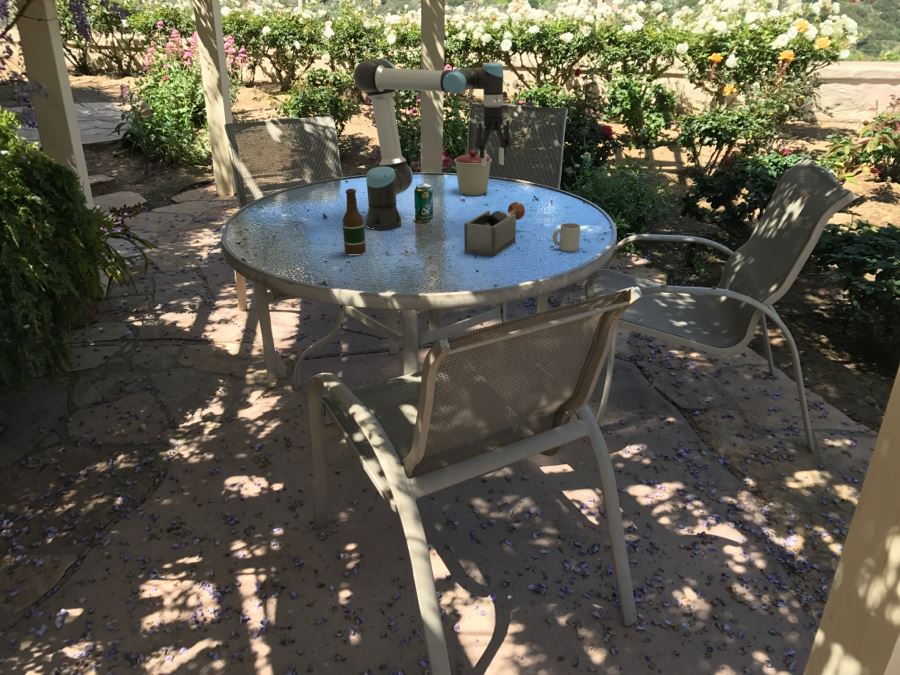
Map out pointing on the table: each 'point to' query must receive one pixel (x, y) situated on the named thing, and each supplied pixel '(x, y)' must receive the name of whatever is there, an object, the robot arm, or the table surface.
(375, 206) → the robot arm
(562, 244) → the cup
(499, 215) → the plunger
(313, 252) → the table surface
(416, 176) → the table surface
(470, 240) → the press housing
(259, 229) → the table surface
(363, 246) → the beer bottle
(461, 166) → the canister
